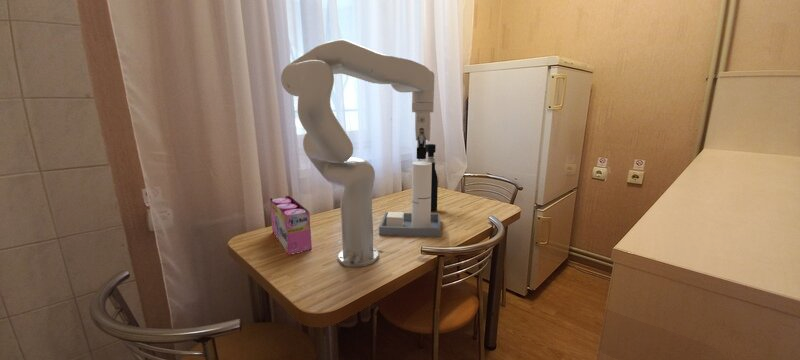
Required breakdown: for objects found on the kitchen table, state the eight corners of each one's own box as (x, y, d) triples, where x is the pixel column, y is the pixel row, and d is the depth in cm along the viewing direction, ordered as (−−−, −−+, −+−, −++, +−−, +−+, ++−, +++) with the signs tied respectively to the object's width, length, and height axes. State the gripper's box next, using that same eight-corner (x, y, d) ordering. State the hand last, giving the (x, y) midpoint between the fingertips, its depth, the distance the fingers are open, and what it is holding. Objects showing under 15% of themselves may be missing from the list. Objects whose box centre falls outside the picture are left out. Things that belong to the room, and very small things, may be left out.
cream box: (402, 230, 119) (402, 217, 118) (386, 229, 120) (386, 217, 119) (403, 224, 125) (403, 212, 124) (388, 223, 126) (388, 211, 125)
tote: (440, 239, 113) (440, 229, 112) (379, 237, 116) (379, 227, 115) (439, 223, 129) (439, 213, 128) (385, 221, 131) (385, 212, 130)
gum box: (271, 232, 121) (267, 197, 118) (292, 227, 126) (289, 194, 122) (288, 256, 102) (284, 215, 99) (312, 249, 106) (310, 211, 103)
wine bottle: (421, 213, 141) (422, 145, 134) (423, 208, 147) (424, 143, 140) (436, 214, 139) (437, 145, 132) (437, 209, 145) (439, 143, 138)
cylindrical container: (429, 232, 117) (430, 165, 112) (410, 230, 119) (410, 164, 113) (431, 225, 124) (432, 161, 118) (413, 223, 126) (413, 161, 120)
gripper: (433, 108, 102) (432, 161, 106) (433, 108, 119) (432, 153, 123) (410, 108, 103) (409, 160, 107) (413, 108, 120) (412, 153, 124)
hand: (421, 156), depth 115 cm, fingers open, 9 cm apart
